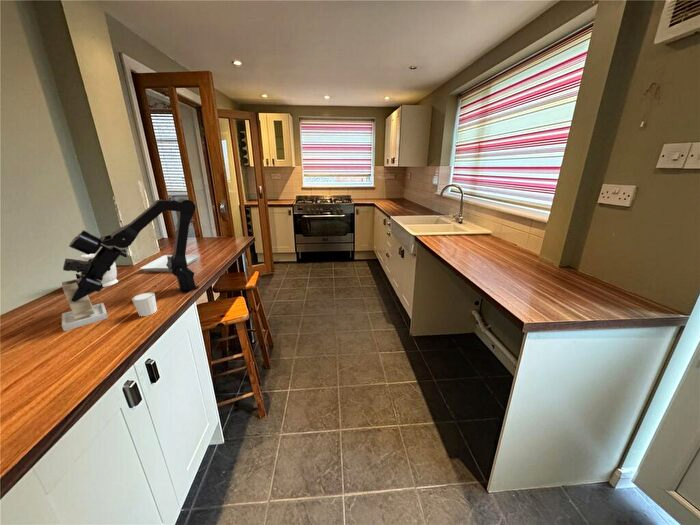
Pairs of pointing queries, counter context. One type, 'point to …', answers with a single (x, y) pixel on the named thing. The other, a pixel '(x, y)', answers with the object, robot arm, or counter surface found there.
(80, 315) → the beech block
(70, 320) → the tray
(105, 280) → the jar
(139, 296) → the shot glass
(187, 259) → the salad plate
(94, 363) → the counter surface
